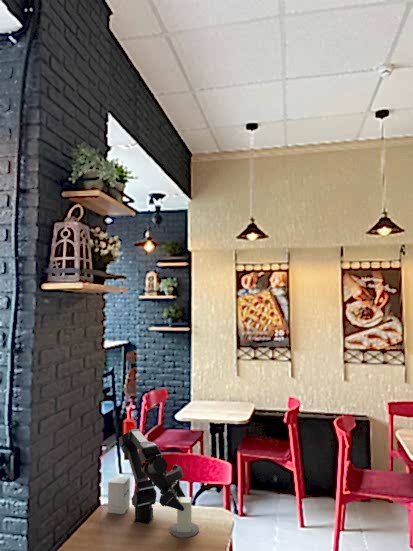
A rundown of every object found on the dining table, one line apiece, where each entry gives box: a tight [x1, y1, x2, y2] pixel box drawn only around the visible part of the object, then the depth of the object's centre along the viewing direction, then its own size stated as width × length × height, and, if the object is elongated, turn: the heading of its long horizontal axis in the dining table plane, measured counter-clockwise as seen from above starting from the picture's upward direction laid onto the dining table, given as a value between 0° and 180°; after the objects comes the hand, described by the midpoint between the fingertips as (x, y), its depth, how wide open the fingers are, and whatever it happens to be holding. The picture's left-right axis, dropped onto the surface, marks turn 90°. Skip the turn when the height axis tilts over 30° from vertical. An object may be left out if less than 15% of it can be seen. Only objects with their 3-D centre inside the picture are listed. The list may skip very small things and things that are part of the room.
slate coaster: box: [169, 522, 200, 539], centre depth 175 cm, size 11×11×1 cm
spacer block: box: [176, 496, 192, 532], centre depth 175 cm, size 5×5×11 cm
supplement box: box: [107, 476, 131, 515], centre depth 193 cm, size 7×7×13 cm
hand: (184, 504), depth 176 cm, fingers open, 9 cm apart
